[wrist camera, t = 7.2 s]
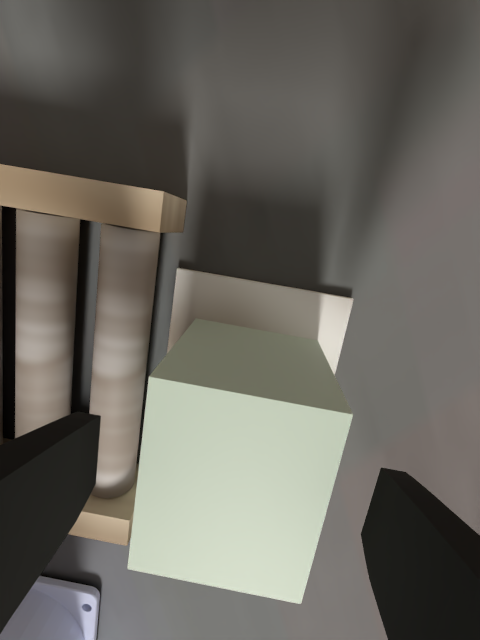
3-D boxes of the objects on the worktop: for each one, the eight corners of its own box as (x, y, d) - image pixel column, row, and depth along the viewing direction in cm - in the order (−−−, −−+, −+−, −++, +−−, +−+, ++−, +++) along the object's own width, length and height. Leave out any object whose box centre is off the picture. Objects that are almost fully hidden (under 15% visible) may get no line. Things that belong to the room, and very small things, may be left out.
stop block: (287, 467, 16) (300, 604, 10) (177, 446, 16) (127, 569, 10) (317, 340, 14) (353, 414, 9) (195, 318, 14) (148, 376, 9)
